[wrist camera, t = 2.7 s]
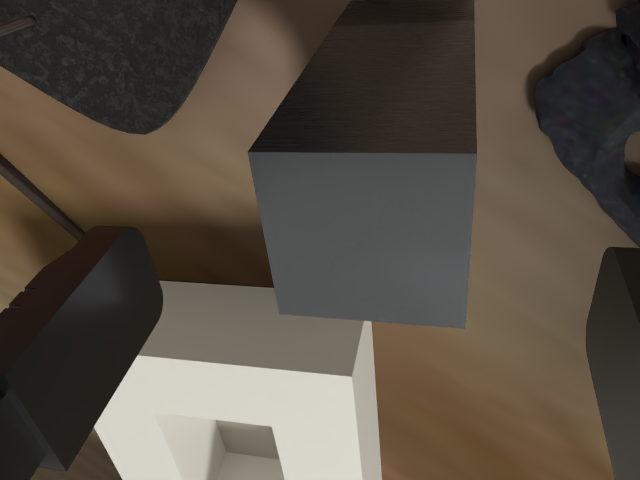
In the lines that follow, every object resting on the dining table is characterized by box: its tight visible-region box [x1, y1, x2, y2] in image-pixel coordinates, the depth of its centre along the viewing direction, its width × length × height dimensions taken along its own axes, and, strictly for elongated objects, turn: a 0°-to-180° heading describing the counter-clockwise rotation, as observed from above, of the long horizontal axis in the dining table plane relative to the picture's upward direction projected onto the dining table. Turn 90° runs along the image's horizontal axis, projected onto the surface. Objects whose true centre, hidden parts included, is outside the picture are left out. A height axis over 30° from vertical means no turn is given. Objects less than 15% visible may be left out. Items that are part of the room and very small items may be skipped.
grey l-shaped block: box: [248, 0, 477, 328], centre depth 16 cm, size 4×8×11 cm, turn 6°
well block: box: [94, 281, 382, 480], centre depth 31 cm, size 14×18×5 cm
